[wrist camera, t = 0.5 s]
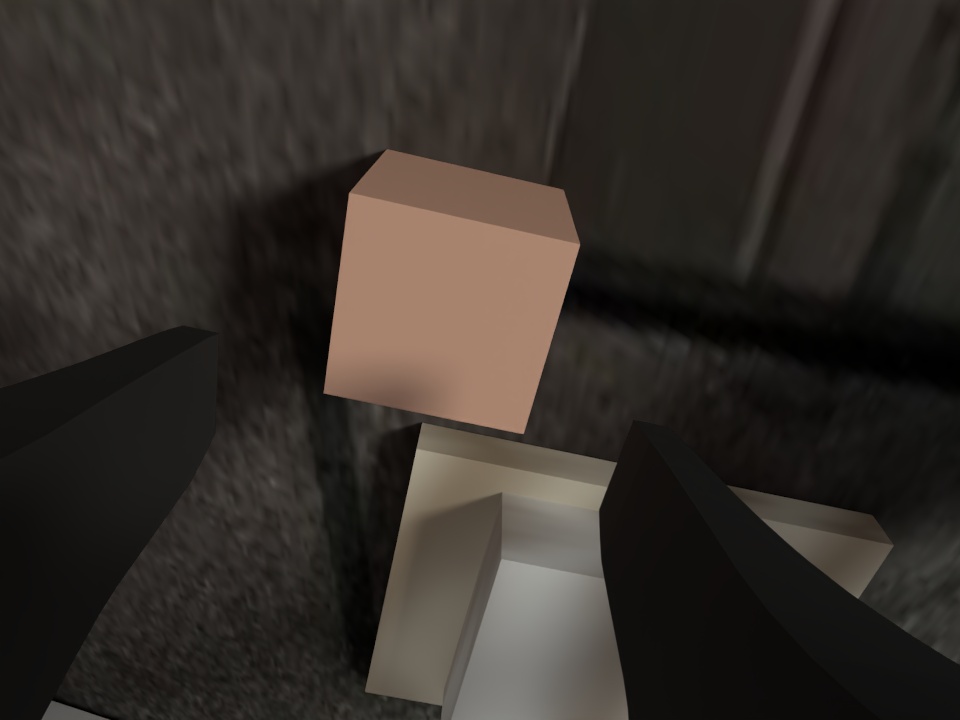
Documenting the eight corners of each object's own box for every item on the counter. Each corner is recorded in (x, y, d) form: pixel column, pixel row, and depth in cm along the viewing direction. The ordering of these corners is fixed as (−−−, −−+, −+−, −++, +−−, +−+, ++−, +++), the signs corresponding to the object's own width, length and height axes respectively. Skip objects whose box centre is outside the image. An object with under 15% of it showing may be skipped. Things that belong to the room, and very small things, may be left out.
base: (872, 515, 24) (946, 618, 20) (738, 725, 29) (774, 840, 25) (422, 422, 23) (403, 511, 19) (371, 659, 28) (348, 767, 24)
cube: (563, 189, 19) (580, 244, 14) (520, 345, 21) (523, 434, 17) (387, 148, 19) (349, 192, 14) (362, 311, 21) (323, 393, 16)
